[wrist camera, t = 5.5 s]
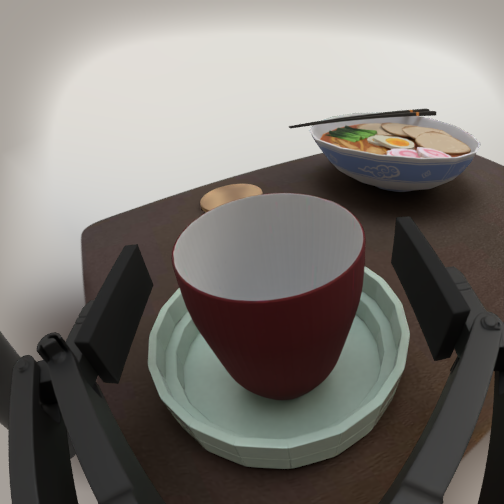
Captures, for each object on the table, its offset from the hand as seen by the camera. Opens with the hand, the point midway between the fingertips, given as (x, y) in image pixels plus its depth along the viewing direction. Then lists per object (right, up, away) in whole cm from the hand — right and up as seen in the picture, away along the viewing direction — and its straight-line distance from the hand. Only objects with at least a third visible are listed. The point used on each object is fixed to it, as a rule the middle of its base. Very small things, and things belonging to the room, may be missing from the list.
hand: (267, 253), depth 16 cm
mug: (+1, -7, +4) cm, 8 cm away
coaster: (-3, +7, +26) cm, 27 cm away
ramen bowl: (+19, +9, +24) cm, 32 cm away
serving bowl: (+1, -7, +4) cm, 9 cm away
